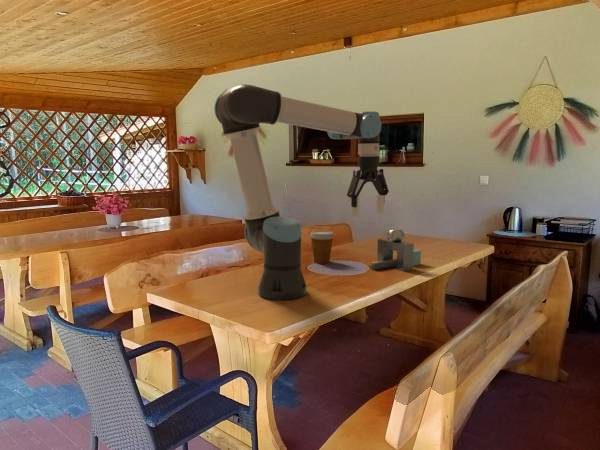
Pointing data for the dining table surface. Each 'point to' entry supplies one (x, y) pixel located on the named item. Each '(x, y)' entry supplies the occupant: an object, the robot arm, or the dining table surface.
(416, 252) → the mallet
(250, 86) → the robot arm
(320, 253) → the disposable coffee cup
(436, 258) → the dining table surface
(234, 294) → the dining table surface
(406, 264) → the housing
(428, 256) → the dining table surface
